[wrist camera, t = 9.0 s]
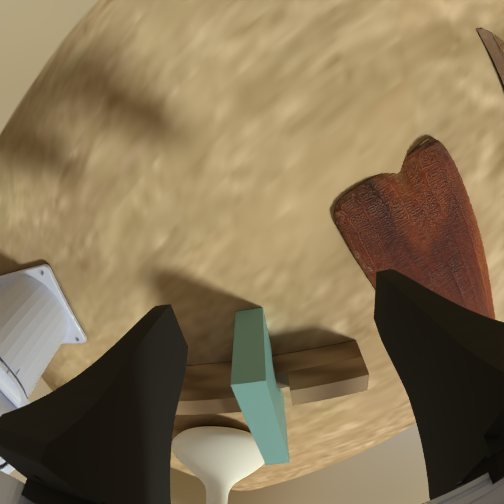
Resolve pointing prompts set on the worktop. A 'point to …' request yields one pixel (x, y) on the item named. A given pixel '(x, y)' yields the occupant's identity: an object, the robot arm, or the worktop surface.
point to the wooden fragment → (494, 49)
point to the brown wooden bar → (279, 379)
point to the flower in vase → (217, 457)
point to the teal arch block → (258, 386)
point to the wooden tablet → (420, 228)
